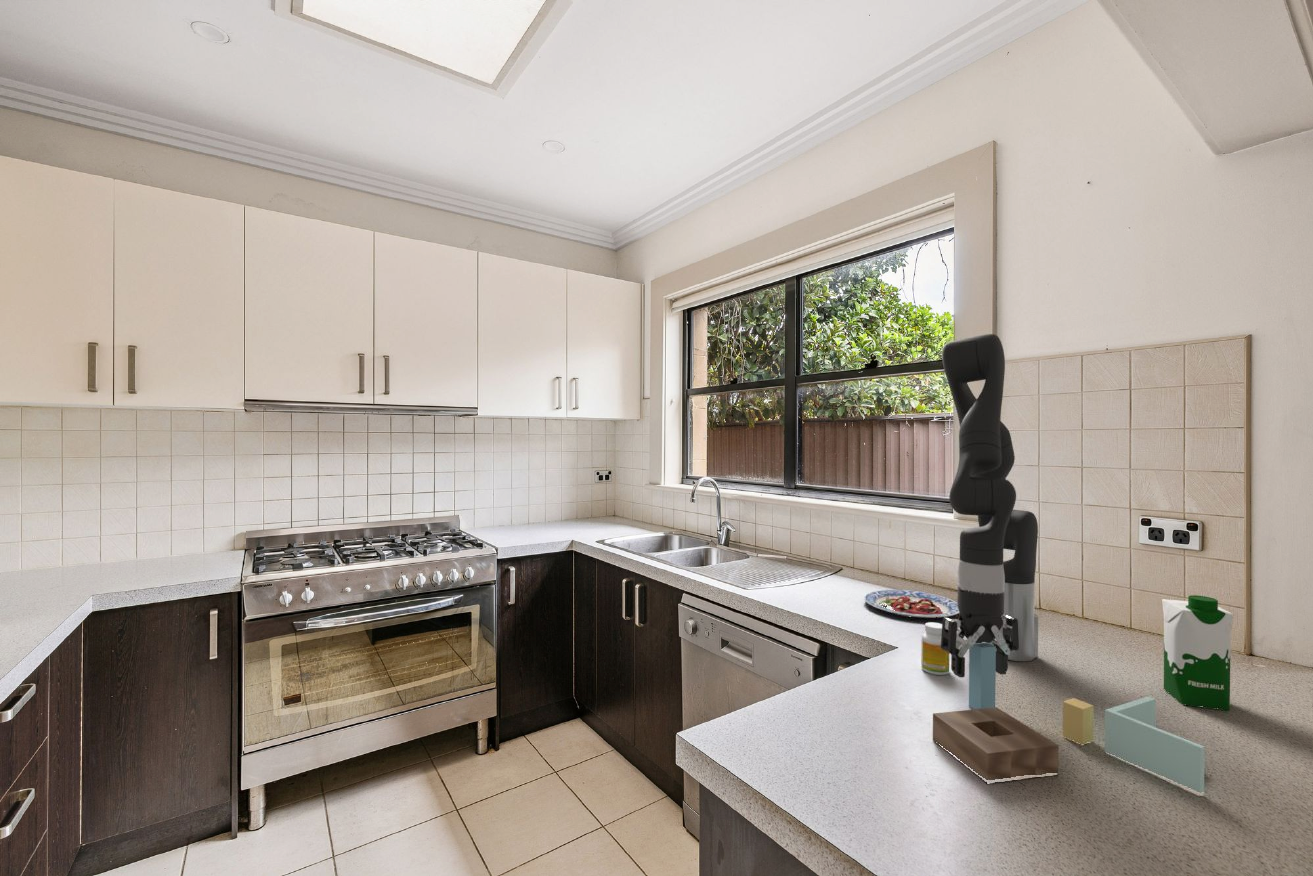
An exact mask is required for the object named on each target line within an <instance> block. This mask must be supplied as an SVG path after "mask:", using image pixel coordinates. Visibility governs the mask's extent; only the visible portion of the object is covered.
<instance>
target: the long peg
mask: <svg viewBox="0 0 1313 876" xmlns="http://www.w3.org/2000/svg"><path fill="white" fill-rule="evenodd" d="M968 653H969V654H968V656H969V657H968V707H969V708H970V709H971V710H973V709H983V708H993V707H996V684H997V683H996V682H997V680H996V679H997V678H996V673H997V672H996V647H995V646H993V645H991V644H989V643H986V642H982V643H975V644H974V645H973V647H972V648H969V649H968Z"/></svg>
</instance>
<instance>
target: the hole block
mask: <svg viewBox="0 0 1313 876" xmlns="http://www.w3.org/2000/svg"><path fill="white" fill-rule="evenodd" d="M933 740H934V741H935V742H937V743H938V744H940V745H941V746H943V748H945V749H946V750H948V751H949V752H951V753H952V754H953V755H955V756H956V757H957V758H958V759H960V761H962V762H963V763H964V764H966V765H967V766H968V767H970V768H971V769H973V771H975V772H976V773H978V775H980V776H982V777H983V778H985V779H986V780H995V779H1003V778H1011V777H1016V776H1024V775H1042V774H1046V773H1058V774H1059V747H1060V745H1059V744H1057V743H1055V742H1054V741H1053V740H1051V739H1049V738H1048V737H1046V736H1044V735H1043V734H1041V733H1039V732H1037V731H1036V730H1035V729H1033V728H1031V727H1030V726H1028V725H1027V724H1024V722H1022V721H1020V720H1018V719H1017V718H1015V717H1014V716H1011V714H1009V713H1007V712H1005V711H1003V710H1001V709H1000V707H997V706H995V707H993V708H983V709H967V710H965V709H964V710H955V711H945V712H944V711H943V712H937V713H936V712H935V713H934V712H933V713H932V741H933ZM934 741H933V742H934ZM935 742H934V743H935ZM938 744H937V745H938ZM943 748H942V749H943Z"/></svg>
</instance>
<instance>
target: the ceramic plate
mask: <svg viewBox="0 0 1313 876" xmlns="http://www.w3.org/2000/svg"><path fill="white" fill-rule="evenodd" d="M913 600H915V601H913ZM864 601H865V602H866V603H867V604H868V605H870V606H872V607H874V608H875V609H879V610H881V611H885V612H888V613H890V612H891V614H893V613H895V614H894V615H896V614H899V615H898V616H901V615H903V616H902V617H906V616H911V617H910V618H913V617H920V618H919V619H934V618H935V619H936V617H937V618H944V617H947V618H949V617H952V616H955V615H958V614H960V613H959V609H958V606H957V601H955V600H953V599H950V598H948V597H946V596H945V597H944V596H941V595H939V594H934V593H927V592H923V591H915V590H907V589H881V590H874V591H871V592H868V593H866V594H865V595H864ZM917 601H918V602H917ZM882 603H883V604H884V603H886V604H887V605H888V606H891V607H892V609H893V610H890V609H887V608H886V607H887V605H886V606H885V604H884V605H883V604H882ZM880 604H882V605H880ZM882 606H883V607H882ZM937 606H939V607H937ZM884 607H885V608H884ZM940 608H942V609H940ZM894 610H895V611H894ZM941 610H943V611H941Z"/></svg>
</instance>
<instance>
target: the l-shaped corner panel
mask: <svg viewBox="0 0 1313 876" xmlns="http://www.w3.org/2000/svg"><path fill="white" fill-rule="evenodd" d="M1156 713H1157V699H1156V697H1155V698H1154V697H1152V696H1149V695H1148V696H1146V697H1145V696H1144V697H1142V698H1138V699H1135V700H1132V701H1129V702H1125V703H1123V704H1120V705H1116V706H1113V707H1110V708H1107V709H1104V753H1105V752H1107V753H1109V754H1112V755H1115V756H1116V757H1119V758H1121V759H1123V760H1125V761H1128V762H1130V763H1133V764H1134V765H1138V766H1139V767H1142V768H1144V769H1148V770H1149V771H1152V772H1154V773H1156V774H1158V775H1161V776H1164V777H1166V778H1168V779H1170V780H1173V781H1174V782H1177V783H1178V784H1182V785H1184V786H1187V787H1188V788H1191V789H1193V790H1196V791H1197V792H1200V793H1201V792H1204V793H1205V779H1204V777H1205V746H1204V745H1202V744H1199V743H1196V742H1194V741H1191V740H1188V739H1186V738H1183V737H1181V736H1178V735H1176V734H1174V733H1171V732H1169V731H1166V730H1164V729H1162V728H1161V729H1160V728H1158V727H1157V726H1156V725H1157V724H1156V723H1157V722H1156V721H1157V714H1156Z"/></svg>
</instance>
